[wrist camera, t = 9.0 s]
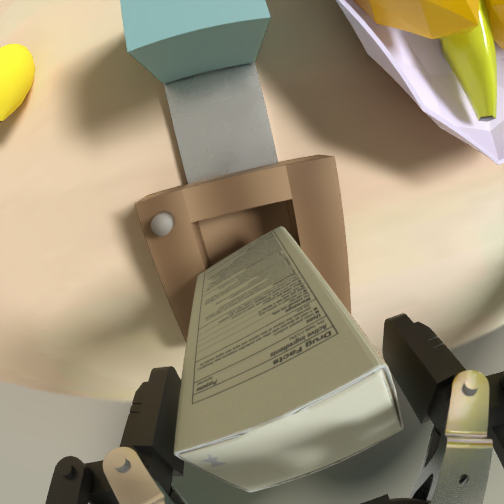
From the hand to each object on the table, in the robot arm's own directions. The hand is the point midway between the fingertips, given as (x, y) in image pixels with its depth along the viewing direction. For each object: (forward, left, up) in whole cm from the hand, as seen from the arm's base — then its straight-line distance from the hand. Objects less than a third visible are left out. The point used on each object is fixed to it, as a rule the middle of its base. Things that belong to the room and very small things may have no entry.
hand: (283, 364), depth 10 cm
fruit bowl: (-21, -19, -12) cm, 30 cm away
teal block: (0, -16, -12) cm, 20 cm away
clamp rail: (0, -14, -12) cm, 18 cm away
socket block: (0, 0, -12) cm, 12 cm away
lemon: (+15, -19, -12) cm, 27 cm away
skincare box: (0, 0, -9) cm, 9 cm away
